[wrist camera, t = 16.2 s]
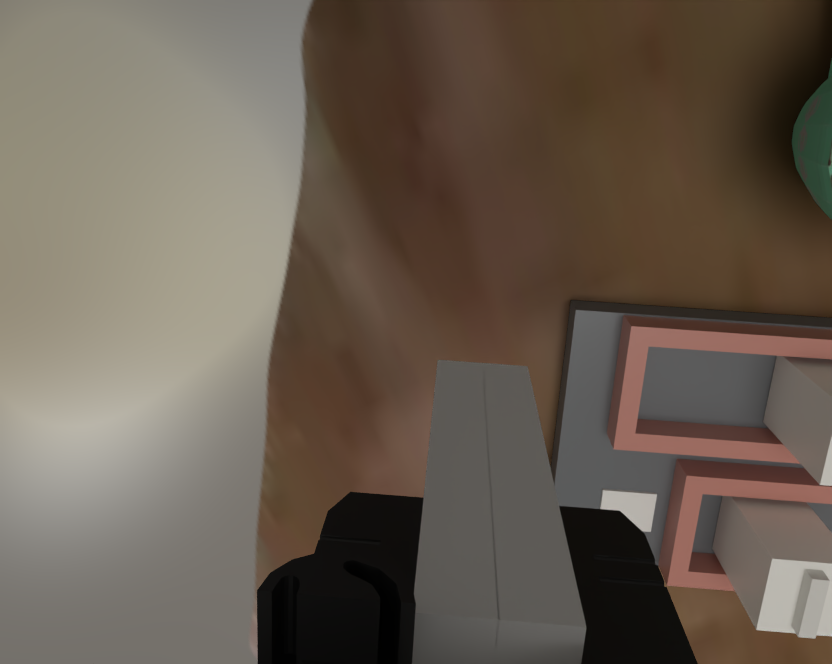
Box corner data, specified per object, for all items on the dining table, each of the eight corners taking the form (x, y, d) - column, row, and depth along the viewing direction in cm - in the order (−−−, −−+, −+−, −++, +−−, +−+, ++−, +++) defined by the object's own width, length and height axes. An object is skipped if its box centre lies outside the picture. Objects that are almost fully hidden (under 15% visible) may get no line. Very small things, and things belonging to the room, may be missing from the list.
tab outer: (724, 486, 43) (778, 568, 35) (797, 491, 43) (867, 575, 35) (712, 548, 44) (762, 641, 37) (783, 554, 44) (847, 648, 36)
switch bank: (570, 300, 42) (581, 320, 39) (1019, 330, 41) (1075, 354, 38) (542, 537, 47) (549, 577, 43) (946, 570, 46) (990, 614, 42)
